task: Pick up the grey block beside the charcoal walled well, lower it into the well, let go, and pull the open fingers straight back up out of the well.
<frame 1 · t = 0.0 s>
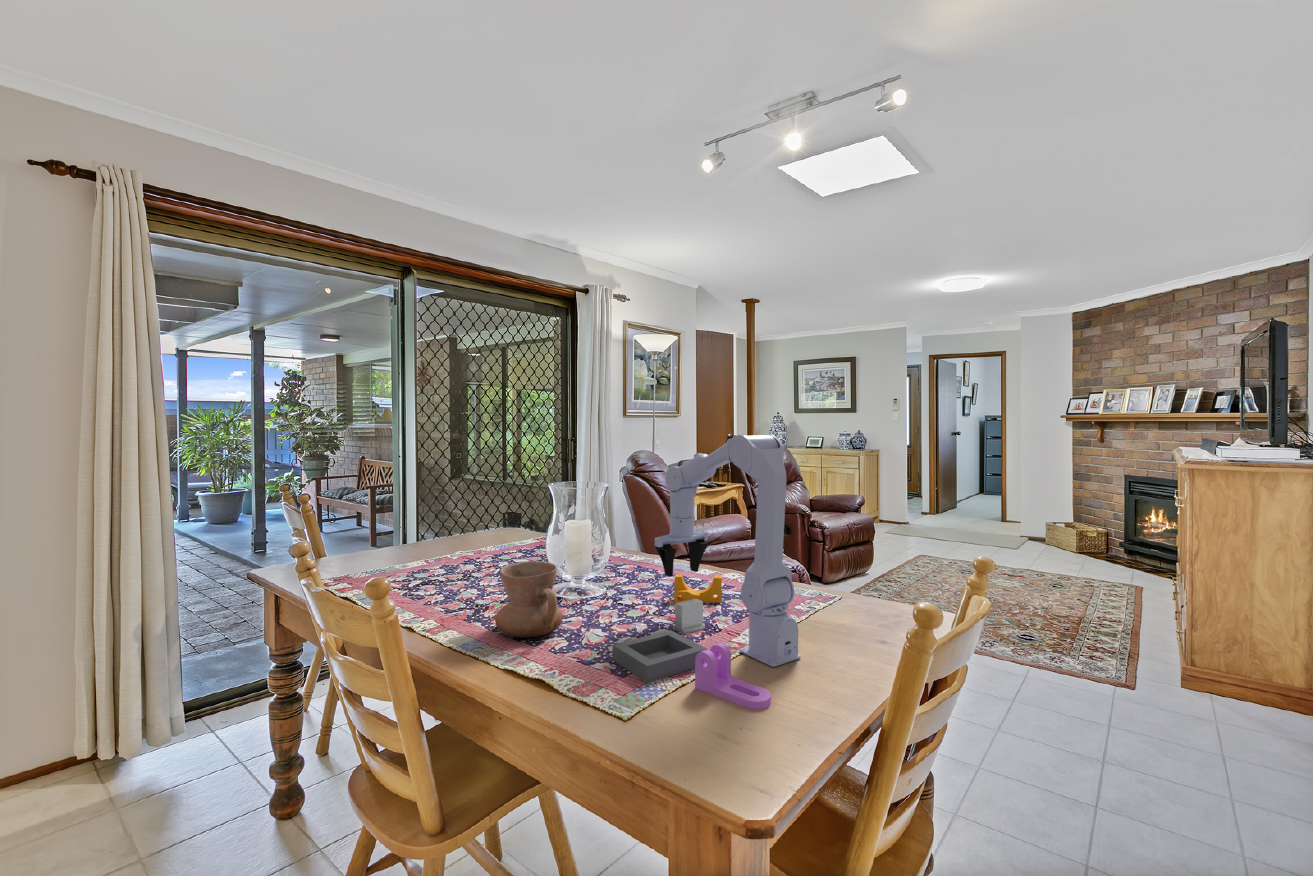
hand: (681, 573, 141), 10 cm above the table, tool pointing down, fingers open, 7 cm apart
grey block: (689, 628, 133), on the table
well: (659, 662, 114), on the table
ceramic jug: (530, 632, 130), on the table
pipe clamp: (697, 602, 152), on the table
bracket: (735, 696, 102), on the table
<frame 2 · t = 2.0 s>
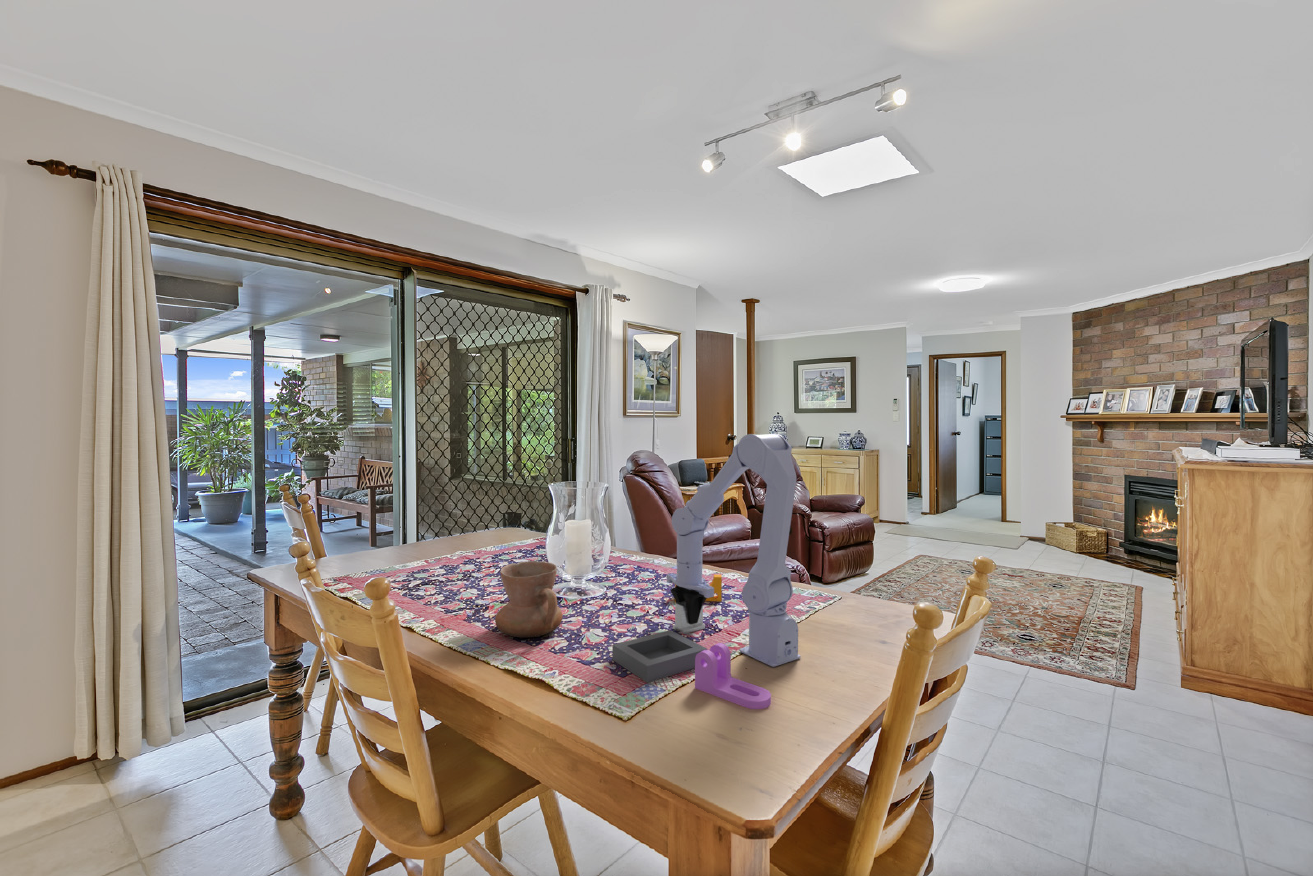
hand: (689, 621, 133), 2 cm above the table, tool pointing down, fingers closed on grey block, 2 cm apart
grey block: (688, 628, 133), on the table, touching gripper
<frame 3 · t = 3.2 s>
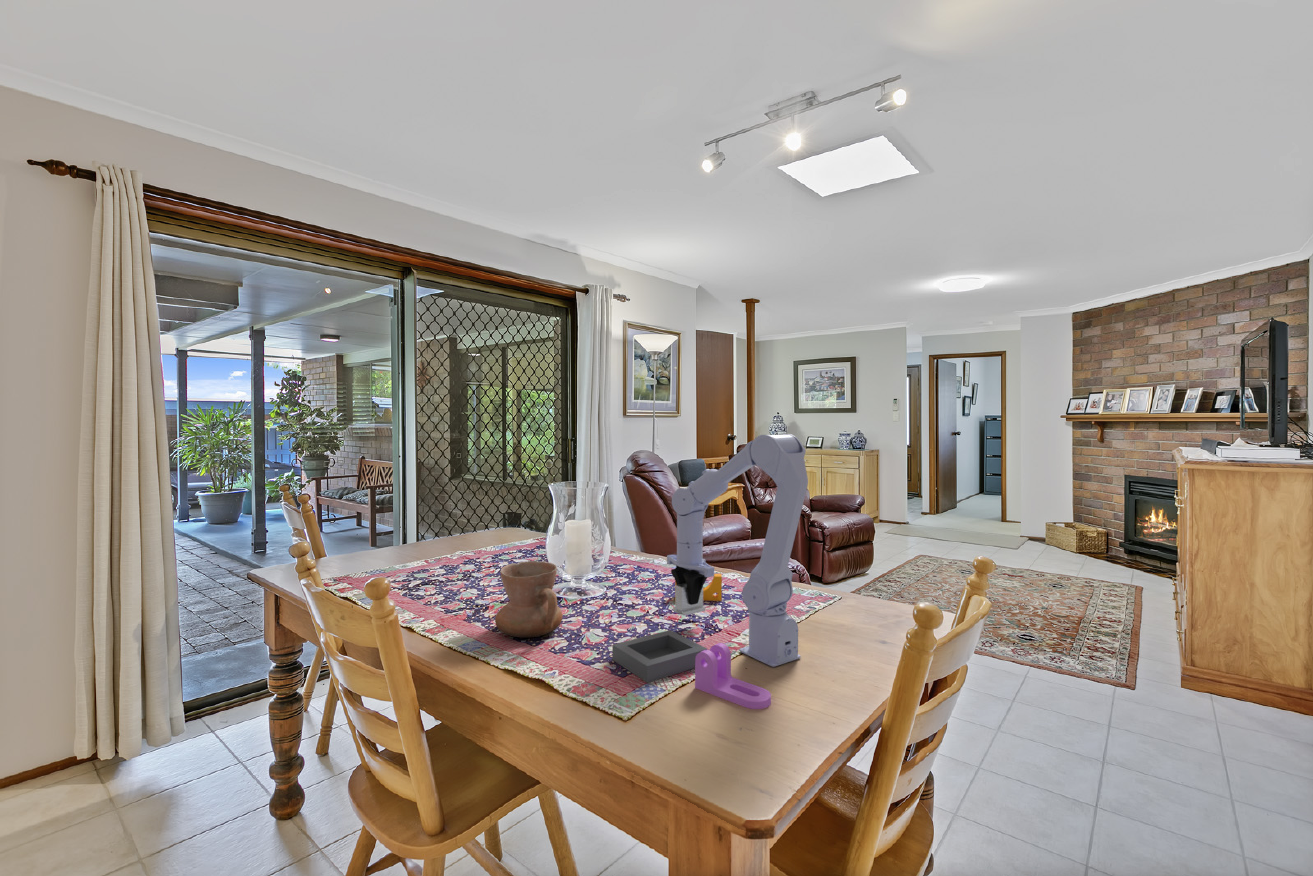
hand: (689, 602, 132), 6 cm above the table, tool pointing down, fingers closed on grey block, 2 cm apart
grey block: (689, 610, 132), point 4 cm above the table, touching gripper
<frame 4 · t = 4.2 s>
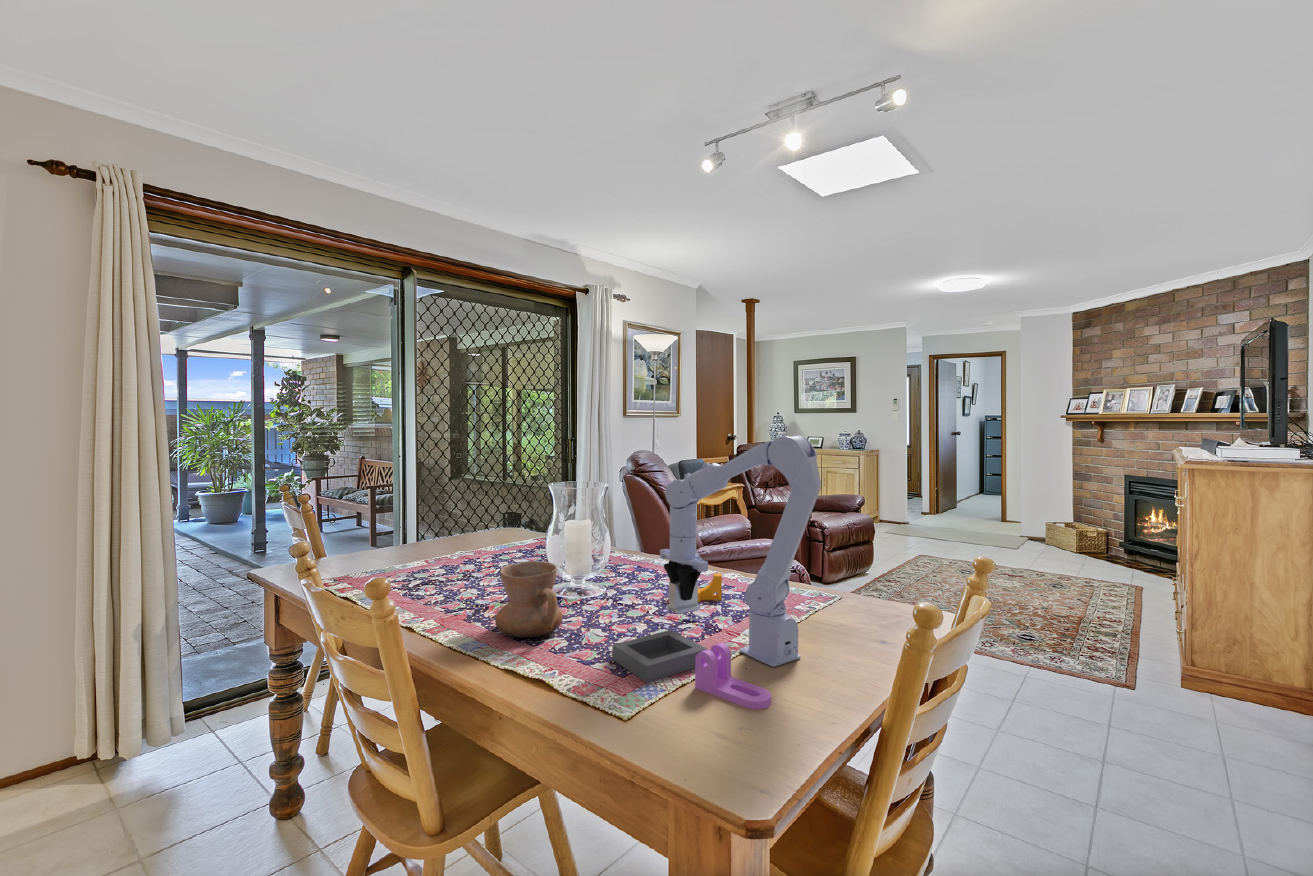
hand: (682, 597, 128), 8 cm above the table, tool pointing down, fingers closed on grey block, 2 cm apart
grey block: (683, 609, 128), point 6 cm above the table, touching gripper
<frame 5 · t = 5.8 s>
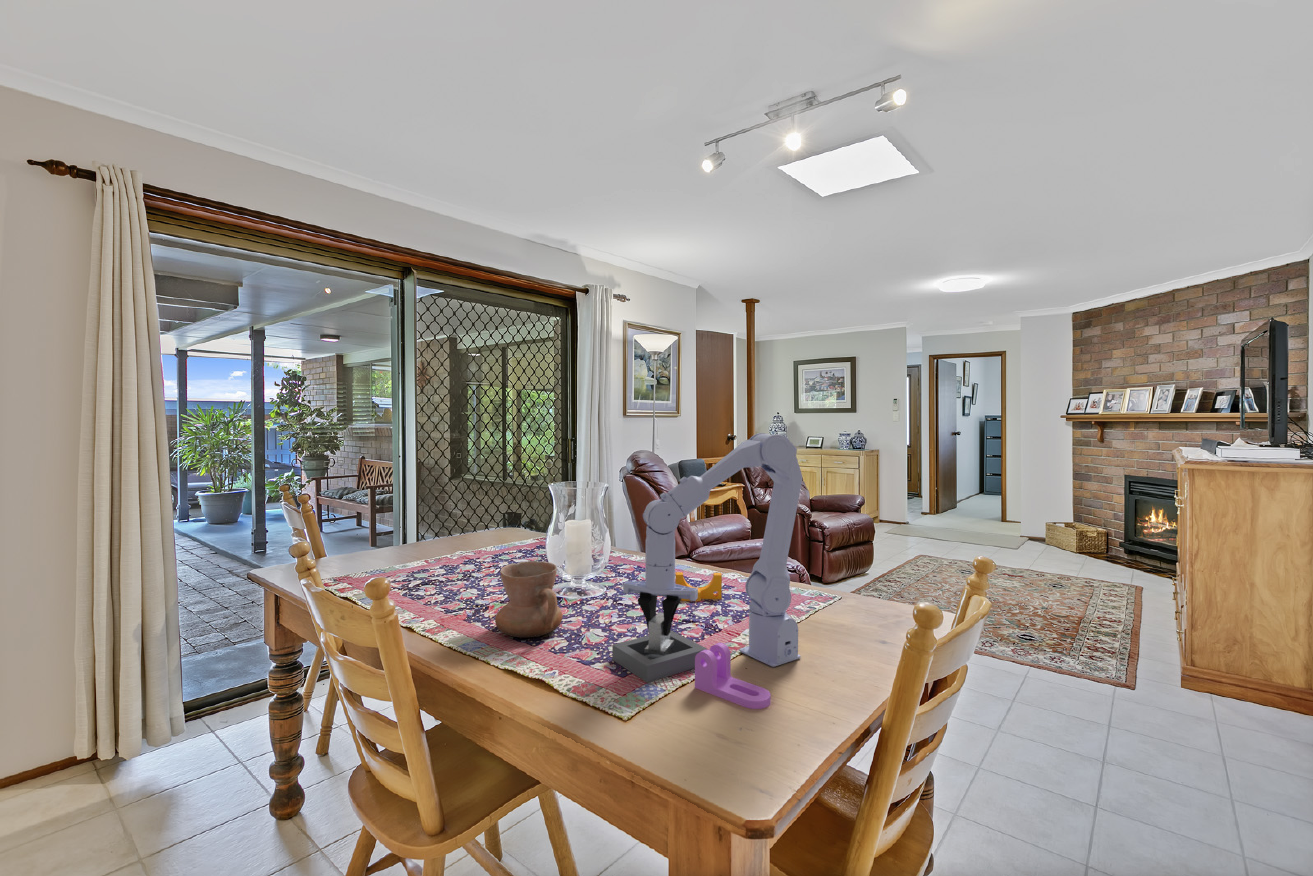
hand: (659, 633, 114), 6 cm above the table, tool pointing down, fingers closed on grey block, 2 cm apart
grey block: (659, 648, 114), point 3 cm above the table, touching gripper
when the fingers open (4 cm above the table, at t = 6.4 s): grey block stays where it is, resting on well.
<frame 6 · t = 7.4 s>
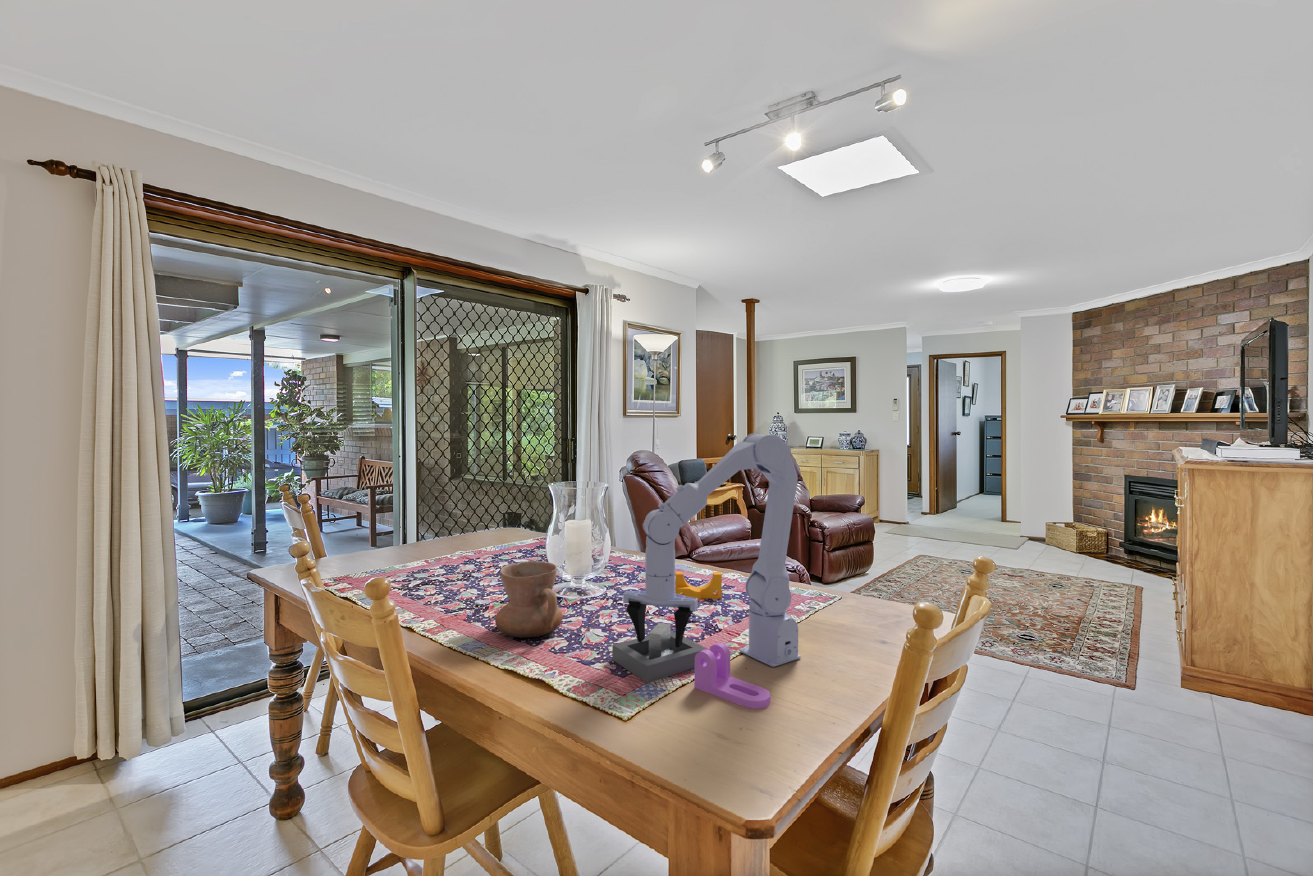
hand: (659, 642, 114), 4 cm above the table, tool pointing down, fingers open, 7 cm apart
grey block: (659, 659, 115), resting on well
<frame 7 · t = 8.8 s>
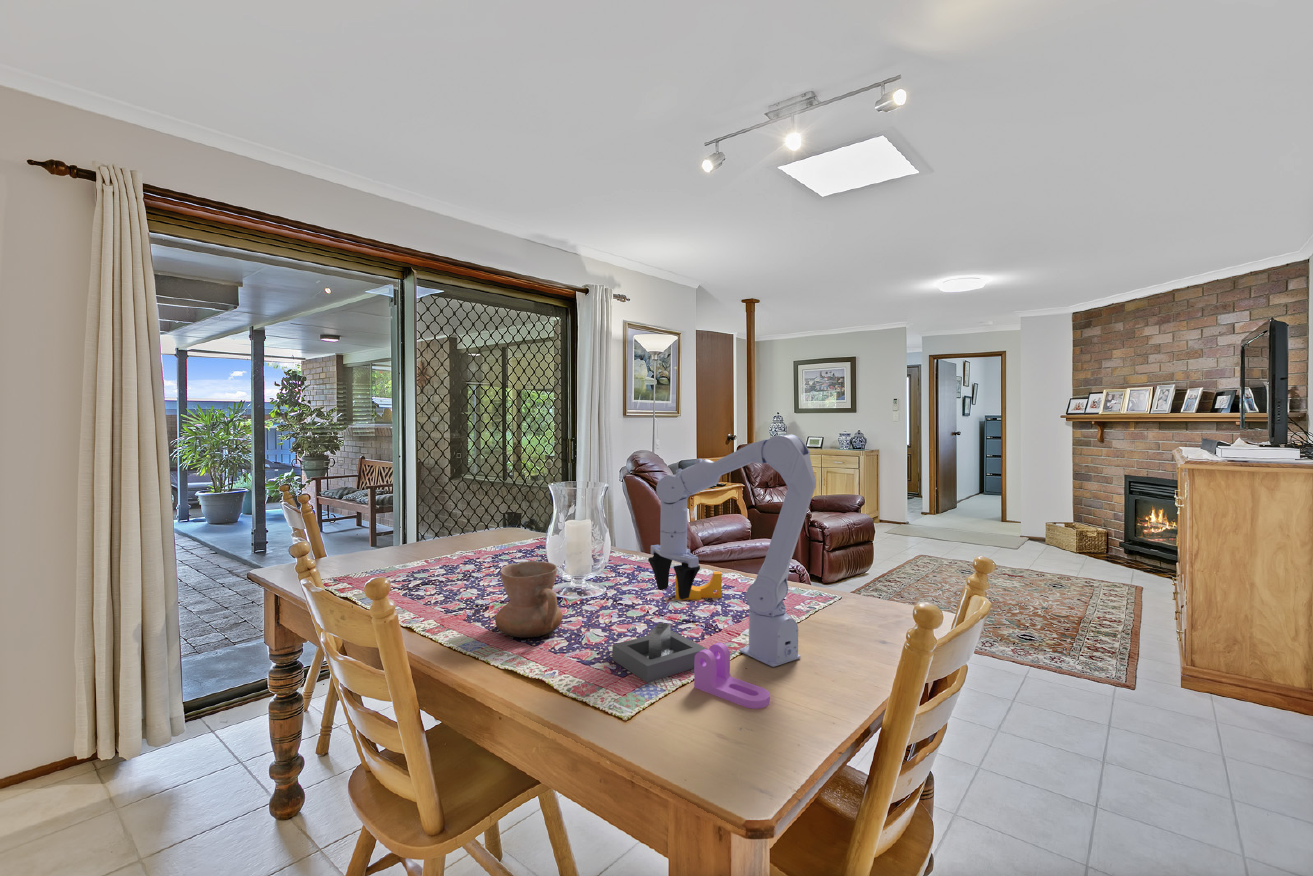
hand: (673, 593, 127), 9 cm above the table, tool pointing down, fingers open, 7 cm apart
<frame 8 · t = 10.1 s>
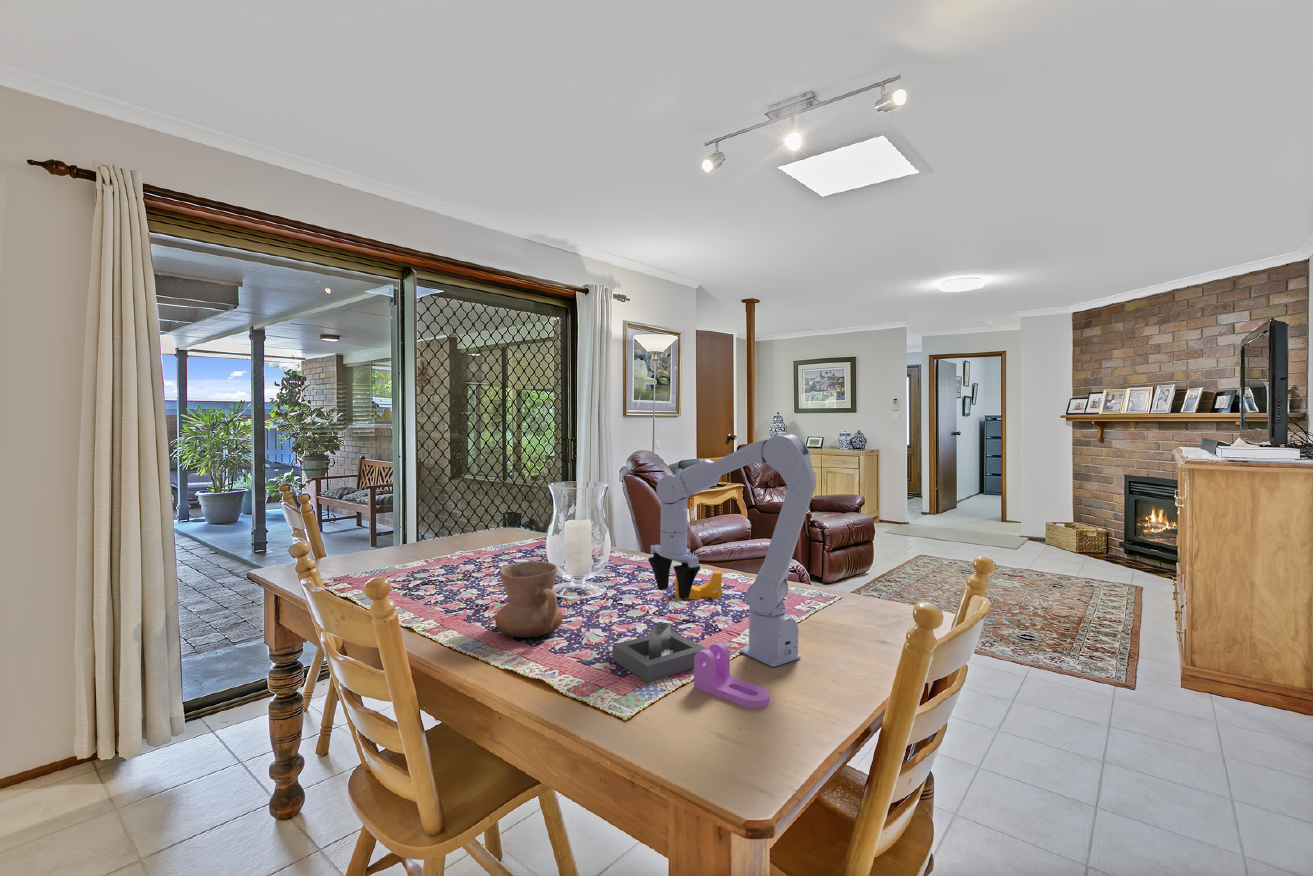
hand: (673, 593, 127), 9 cm above the table, tool pointing down, fingers open, 7 cm apart
at the end: grey block 0.1 cm off-centre on the well, point 0.5 cm above the well's base; the gripper is holding nothing; grey block tilted 0° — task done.
